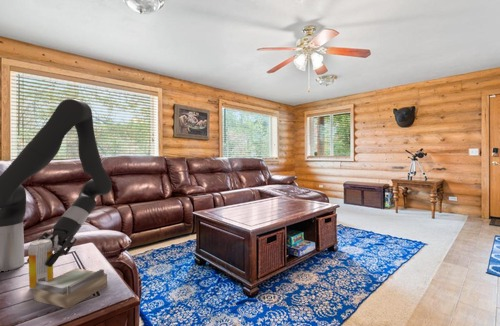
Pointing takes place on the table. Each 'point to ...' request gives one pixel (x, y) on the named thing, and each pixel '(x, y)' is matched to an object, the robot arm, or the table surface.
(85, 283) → the square tray
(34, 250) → the beer can
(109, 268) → the table surface
